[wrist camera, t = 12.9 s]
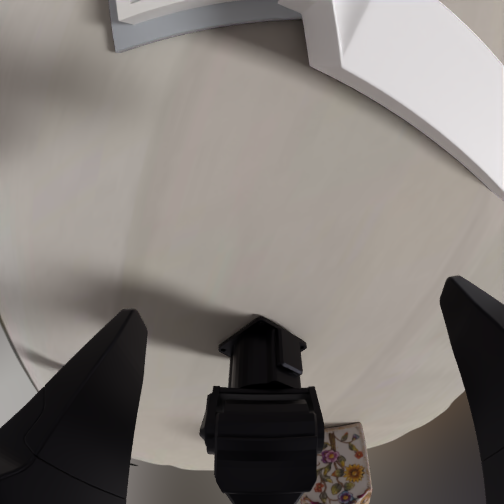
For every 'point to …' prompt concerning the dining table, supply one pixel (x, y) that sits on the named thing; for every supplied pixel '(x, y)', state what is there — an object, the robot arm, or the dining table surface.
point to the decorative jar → (342, 468)
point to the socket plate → (185, 18)
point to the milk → (416, 72)
